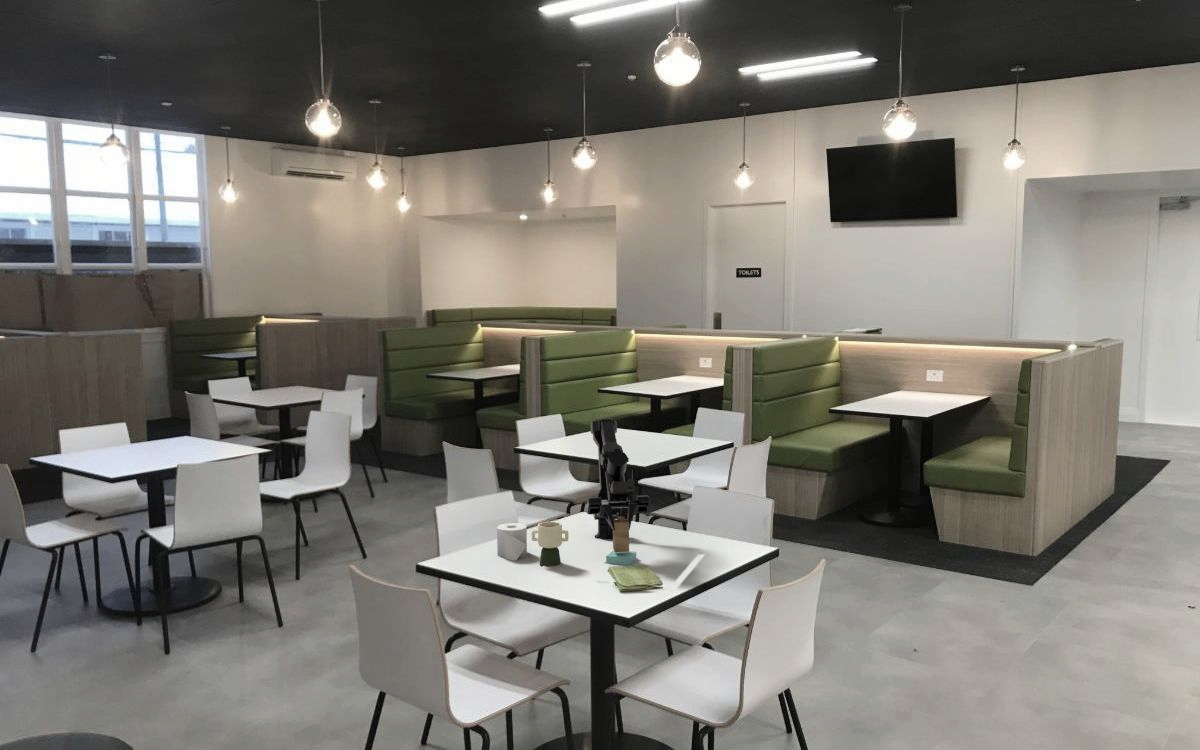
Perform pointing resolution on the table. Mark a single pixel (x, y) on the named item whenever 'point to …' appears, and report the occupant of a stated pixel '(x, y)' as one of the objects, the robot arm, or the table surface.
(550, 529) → the character mug
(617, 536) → the walnut pillar
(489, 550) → the table surface
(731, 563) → the table surface
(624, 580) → the washcloth
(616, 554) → the teal slab
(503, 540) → the toilet tissue
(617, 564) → the slate slab
